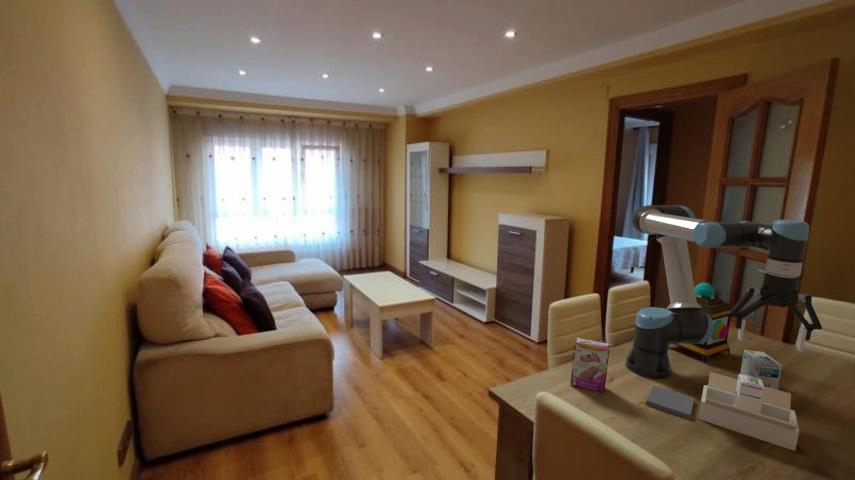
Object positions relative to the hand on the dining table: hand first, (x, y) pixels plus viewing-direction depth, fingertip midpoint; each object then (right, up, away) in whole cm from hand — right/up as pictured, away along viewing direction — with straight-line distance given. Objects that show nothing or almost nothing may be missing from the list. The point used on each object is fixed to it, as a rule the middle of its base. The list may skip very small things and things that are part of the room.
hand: (768, 344), depth 116 cm
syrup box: (-5, -25, +3) cm, 26 cm away
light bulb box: (+18, -21, +25) cm, 38 cm away
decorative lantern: (+13, -17, +51) cm, 55 cm away
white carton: (-5, -25, +3) cm, 25 cm away
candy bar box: (-45, -21, +22) cm, 54 cm away
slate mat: (-21, -23, +13) cm, 34 cm away
